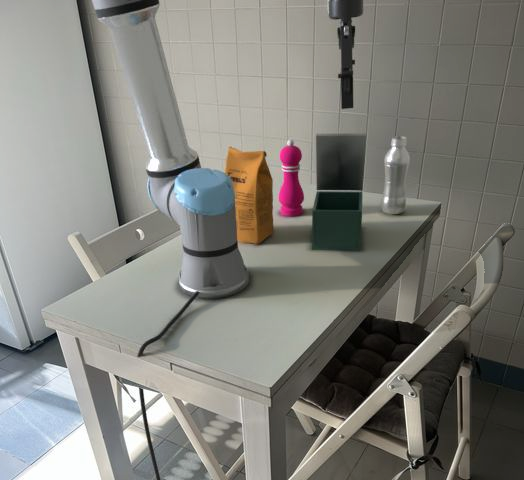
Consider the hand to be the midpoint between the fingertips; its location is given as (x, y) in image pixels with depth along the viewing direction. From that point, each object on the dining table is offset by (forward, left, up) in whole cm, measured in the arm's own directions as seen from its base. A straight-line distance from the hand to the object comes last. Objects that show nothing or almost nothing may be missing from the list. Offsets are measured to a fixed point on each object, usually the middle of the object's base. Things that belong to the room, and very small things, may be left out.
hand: (347, 101), depth 128 cm
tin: (-11, -5, -30) cm, 32 cm away
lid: (-7, -3, -13) cm, 15 cm away
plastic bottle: (+13, -8, -30) cm, 34 cm away
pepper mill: (-2, +16, -30) cm, 34 cm away
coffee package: (-22, +15, -30) cm, 40 cm away
